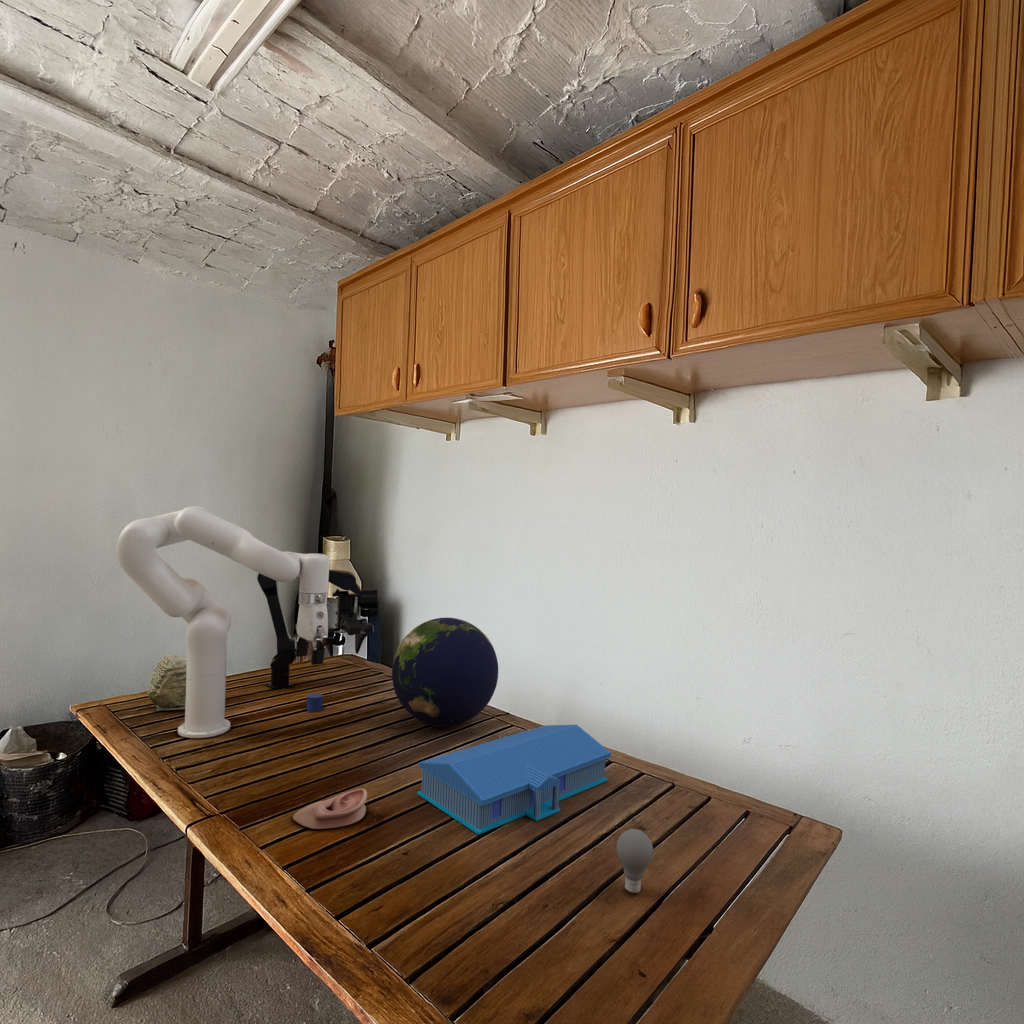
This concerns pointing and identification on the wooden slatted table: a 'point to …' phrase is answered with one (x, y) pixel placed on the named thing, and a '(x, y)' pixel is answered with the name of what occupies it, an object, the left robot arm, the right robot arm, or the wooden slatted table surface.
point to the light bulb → (634, 857)
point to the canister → (314, 702)
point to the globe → (445, 672)
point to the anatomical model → (334, 811)
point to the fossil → (169, 683)
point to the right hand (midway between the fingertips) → (344, 655)
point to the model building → (514, 776)
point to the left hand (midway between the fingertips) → (309, 660)
